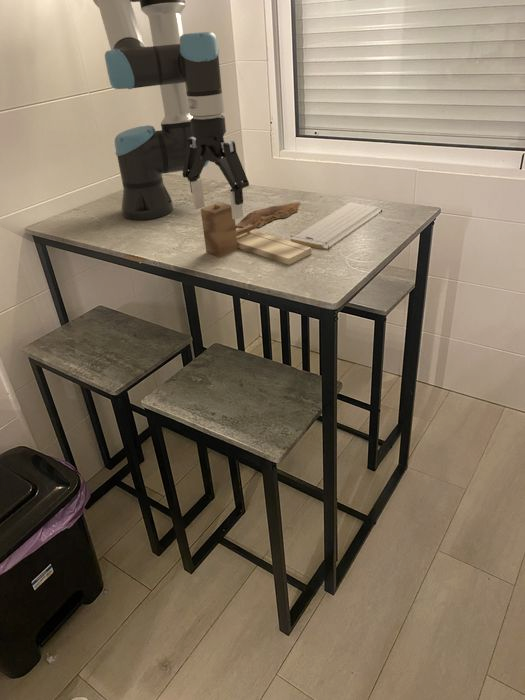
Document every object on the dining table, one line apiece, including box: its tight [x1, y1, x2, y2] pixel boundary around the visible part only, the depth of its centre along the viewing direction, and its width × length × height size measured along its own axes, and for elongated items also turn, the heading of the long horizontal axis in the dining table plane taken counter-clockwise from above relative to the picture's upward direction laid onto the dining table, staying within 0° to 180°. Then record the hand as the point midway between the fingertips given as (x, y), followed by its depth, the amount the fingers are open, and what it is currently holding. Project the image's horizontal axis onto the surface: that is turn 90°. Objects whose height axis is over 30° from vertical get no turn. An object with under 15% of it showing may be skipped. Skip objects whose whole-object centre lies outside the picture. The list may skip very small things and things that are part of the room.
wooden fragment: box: [235, 201, 301, 229], centre depth 151 cm, size 26×11×1 cm, turn 132°
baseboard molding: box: [290, 202, 381, 251], centre depth 140 cm, size 31×3×12 cm
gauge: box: [200, 201, 255, 258], centre depth 131 cm, size 5×14×12 cm, turn 136°
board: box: [237, 229, 313, 266], centre depth 131 cm, size 22×8×2 cm, turn 46°
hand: (218, 212), depth 126 cm, fingers open, 13 cm apart
